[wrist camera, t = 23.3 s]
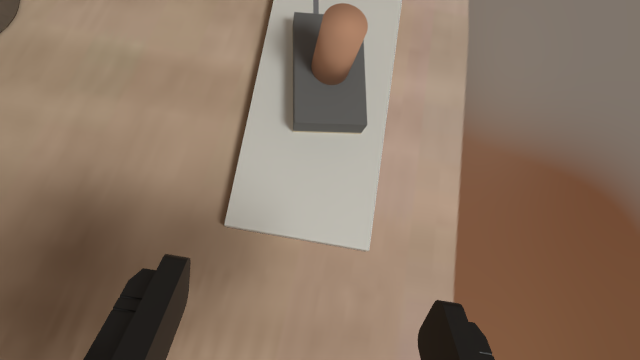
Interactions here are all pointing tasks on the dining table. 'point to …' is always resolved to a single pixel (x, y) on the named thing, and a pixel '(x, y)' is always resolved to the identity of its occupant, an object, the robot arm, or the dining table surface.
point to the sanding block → (329, 71)
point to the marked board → (313, 142)
